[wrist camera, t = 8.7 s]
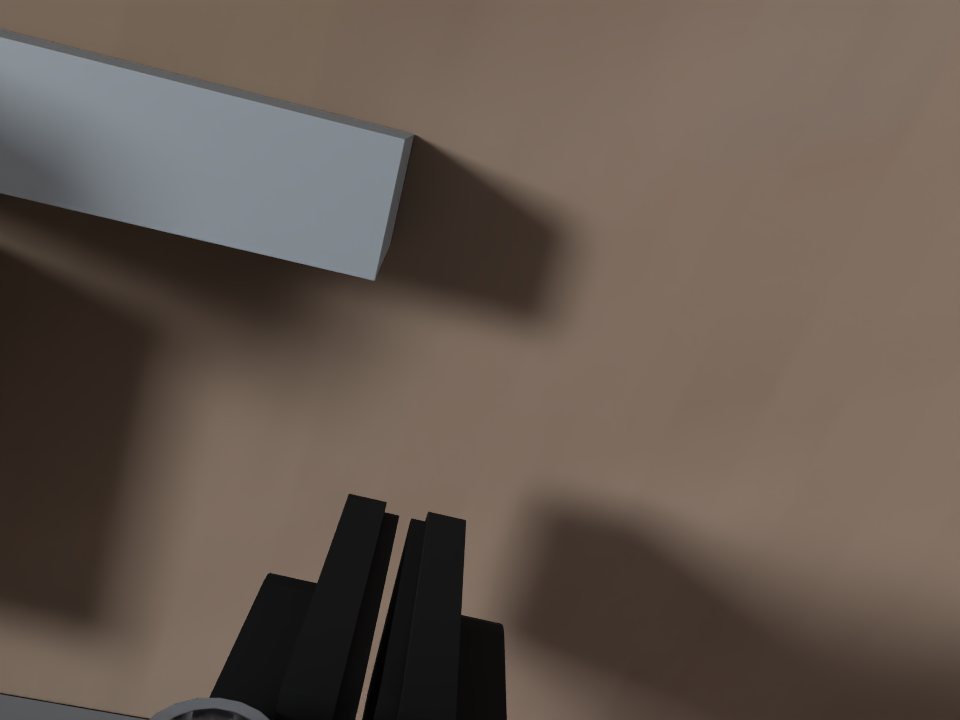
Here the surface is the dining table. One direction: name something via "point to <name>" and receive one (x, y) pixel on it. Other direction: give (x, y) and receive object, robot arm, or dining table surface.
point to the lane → (192, 174)
